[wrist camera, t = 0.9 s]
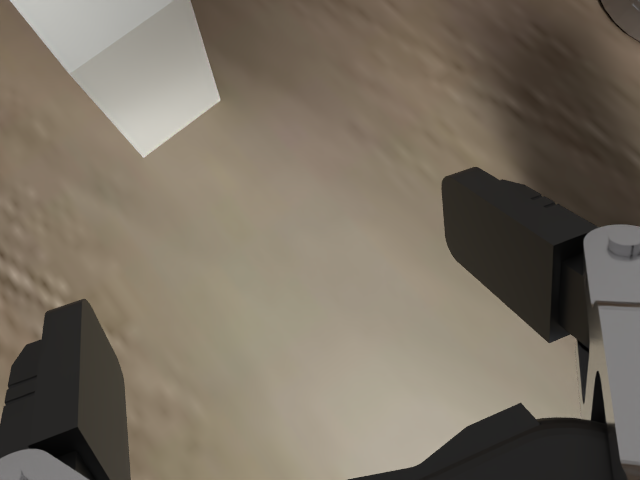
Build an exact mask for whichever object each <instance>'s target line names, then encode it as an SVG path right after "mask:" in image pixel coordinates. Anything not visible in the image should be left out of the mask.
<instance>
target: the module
mask: <svg viewBox="0 0 640 480" xmlns="http://www.w3.org/2000/svg"><path fill="white" fill-rule="evenodd" d="M10 1H11V2H12V4H13V5H14V6H15V7H16V9H17V10H18V11H19V12H20V14H21V15H22V16H23V17H24V18H25V20H26V21H27V22H28V23H29V25H30V26H31V27H32V28H33V30H34V31H35V32H36V33H37V35H38V36H39V37H40V38H41V40H42V41H43V42H44V43H45V45H46V46H47V47H48V48H49V49H50V51H51V52H52V53H53V54H54V56H55V57H56V58H57V59H58V61H59V62H60V63H61V64H62V66H63V67H64V68H65V69H66V71H67V72H68V73H69V74H70V75H71V76H72V78H73V79H74V80H75V81H76V82H77V83H78V84H79V86H80V87H81V88H82V89H83V90H84V91H85V92H86V93H87V95H88V96H89V97H90V98H91V99H92V100H93V101H94V102H95V104H96V105H97V106H98V107H99V108H100V109H101V110H102V111H103V113H104V114H105V115H106V116H107V117H108V118H109V119H110V120H111V122H112V123H113V124H114V125H115V126H116V127H117V128H118V130H119V131H120V132H121V133H122V134H123V135H124V136H125V137H126V139H127V140H128V141H129V142H130V143H131V144H132V145H133V146H134V148H135V149H136V150H137V151H138V152H139V153H140V154H141V155H142V157H143V158H144V157H145V156H147V155H148V154H149V153H151V152H152V151H153V150H155V149H156V148H157V147H159V146H160V145H161V144H163V143H164V142H165V141H167V140H168V139H169V138H171V137H172V136H173V135H175V134H176V133H177V132H179V131H180V130H182V129H183V128H184V127H186V126H187V125H188V124H190V123H191V122H192V121H194V120H195V119H196V118H198V117H199V116H200V115H202V114H203V113H204V112H206V111H207V110H208V109H210V108H211V107H212V106H214V105H215V104H216V103H218V102H219V101H220V97H219V93H218V90H217V87H216V84H215V80H214V77H213V74H212V70H211V67H210V64H209V60H208V57H207V54H206V50H205V47H204V44H203V40H202V37H201V34H200V30H199V27H198V24H197V20H196V17H195V14H194V11H193V7H192V4H191V1H190V0H10Z"/></svg>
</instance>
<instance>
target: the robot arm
mask: <svg viewBox="0 0 640 480" xmlns="http://www.w3.org/2000/svg"><path fill="white" fill-rule="evenodd" d="M601 2H602V4H603V6H604V8H605V10H606V11H607V12H608V14H609V15H610V16H611V18H612V19H613V20H614V22H615V23H616V24H617V25H618V26H619V27H621V28H622V29H623V30H624V31H625V32H626V33H627V34H628V35H630V36H631V37H633V38H635V39H636V40H638V41H640V0H601ZM442 201H443V214H444V227H445V238H446V242H447V245H448V248H449V250H450V252H451V254H452V255H453V257H454V258H455V260H456V261H457V262H459V263H460V264H461V265H462V266H463V267H464V268H465V269H466V270H468V271H469V272H470V273H471V274H472V275H473V276H474V277H475V278H476V279H478V280H479V281H480V282H481V283H482V284H483V285H484V286H485V287H487V288H488V289H489V290H490V291H491V292H492V293H493V294H494V295H496V296H497V297H498V298H499V299H500V300H501V301H502V302H503V303H505V304H506V305H507V306H508V307H509V308H510V309H511V310H512V311H514V312H515V313H516V314H517V315H518V316H519V317H520V318H521V319H523V320H524V321H525V322H526V323H527V324H528V325H529V326H530V327H532V328H533V329H534V330H535V331H536V332H537V333H538V334H539V335H540V336H542V337H543V338H544V339H545V340H546V341H547V342H548V343H551V342H553V341H556V340H558V339H560V338H563V337H565V336H567V335H570V334H571V335H572V336H574V337H575V338H576V346H575V357H576V368H577V380H578V392H579V404H580V416H581V419H577V418H557V417H556V418H542V419H535V418H534V417H533V416H532V415H531V413H530V412H529V411H528V410H527V409H526V408H525V407H524V406H523V405H522V404H521V403H519V404H517V405H515V406H512V407H510V408H508V409H506V410H503V411H501V412H499V413H497V414H494V415H492V416H490V417H488V418H485V419H483V420H481V421H479V422H476V423H474V424H472V425H470V426H467V427H466V428H465V429H463V430H462V431H461V432H460V433H458V434H457V435H456V436H455V437H453V438H452V439H451V440H450V441H448V442H447V443H446V444H445V445H443V446H442V447H441V448H440V449H438V450H437V451H436V452H435V453H433V454H432V455H431V456H430V457H428V458H427V459H426V460H425V461H423V462H422V463H421V464H419V465H417V466H415V467H411V468H406V469H401V470H396V471H390V472H385V473H380V474H374V475H369V476H364V477H359V478H353V479H348V480H640V227H639V226H634V225H621V224H619V225H608V226H603V227H597V226H595V225H594V224H592V223H590V222H588V221H587V220H585V219H583V218H581V217H580V216H578V215H576V214H574V213H573V212H571V211H569V210H567V209H566V208H564V207H562V206H560V205H559V204H557V205H555V202H553V201H552V200H550V199H548V198H546V197H545V196H544V197H542V196H541V194H540V193H538V192H536V191H534V190H533V189H531V188H529V187H527V186H526V185H523V184H519V183H515V182H511V181H507V180H498V179H497V178H495V177H493V176H492V175H490V174H488V173H487V172H485V171H483V170H482V169H480V168H478V167H473V168H470V169H467V170H464V171H461V172H458V173H455V174H452V175H449V176H446V177H445V178H444V179H443V181H442ZM8 387H9V389H8V390H7V393H6V398H5V404H6V406H4V408H3V413H2V418H1V423H0V480H131V477H130V462H129V447H128V432H127V417H126V402H125V386H124V379H123V374H122V371H121V367H120V364H119V362H118V359H117V357H116V355H115V353H114V351H113V349H112V347H111V345H110V343H109V341H108V339H107V337H106V335H105V333H104V331H103V329H102V327H101V325H100V323H99V321H98V319H97V317H96V315H95V313H94V311H93V309H92V307H91V305H90V304H89V302H88V301H87V300H86V299H82V300H79V301H76V302H73V303H70V304H67V305H64V306H61V307H58V308H55V309H52V310H49V311H47V312H46V313H45V318H44V326H43V334H42V340H39V341H36V342H33V343H30V344H27V345H26V346H25V347H24V349H23V350H22V352H21V353H20V355H19V356H18V357H17V359H16V360H15V362H14V363H13V365H12V367H11V372H10V377H9V382H8Z"/></svg>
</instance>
